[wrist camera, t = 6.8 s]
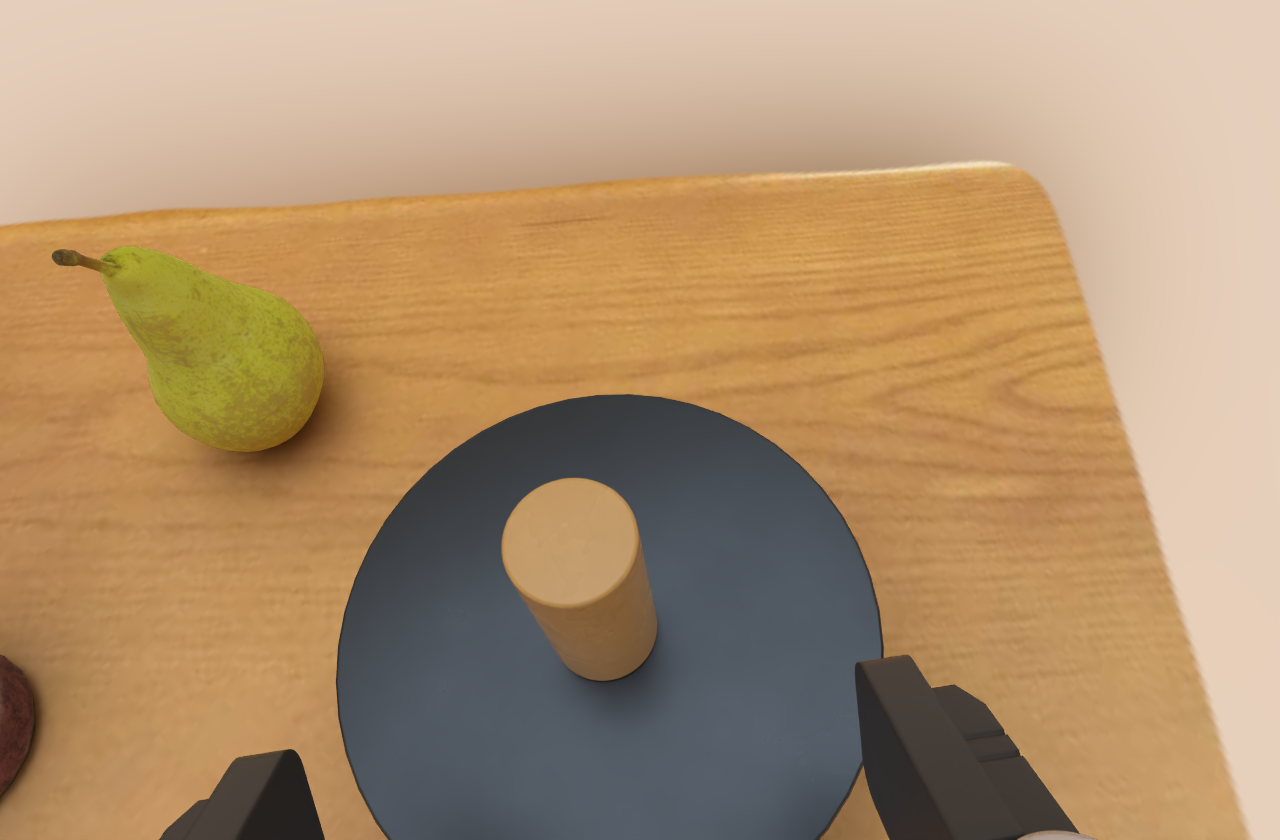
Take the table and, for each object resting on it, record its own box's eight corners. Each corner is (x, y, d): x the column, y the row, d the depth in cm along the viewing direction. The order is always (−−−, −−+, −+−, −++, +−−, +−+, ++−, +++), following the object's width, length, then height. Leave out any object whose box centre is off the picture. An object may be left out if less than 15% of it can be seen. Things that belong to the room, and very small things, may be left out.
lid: (758, 360, 24) (772, 189, 19) (974, 825, 18) (1095, 788, 13) (323, 496, 23) (192, 360, 17) (401, 1036, 17) (241, 1103, 11)
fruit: (328, 331, 36) (168, 95, 25) (370, 440, 33) (212, 227, 23) (192, 389, 35) (-31, 170, 25) (225, 507, 32) (-10, 317, 22)
